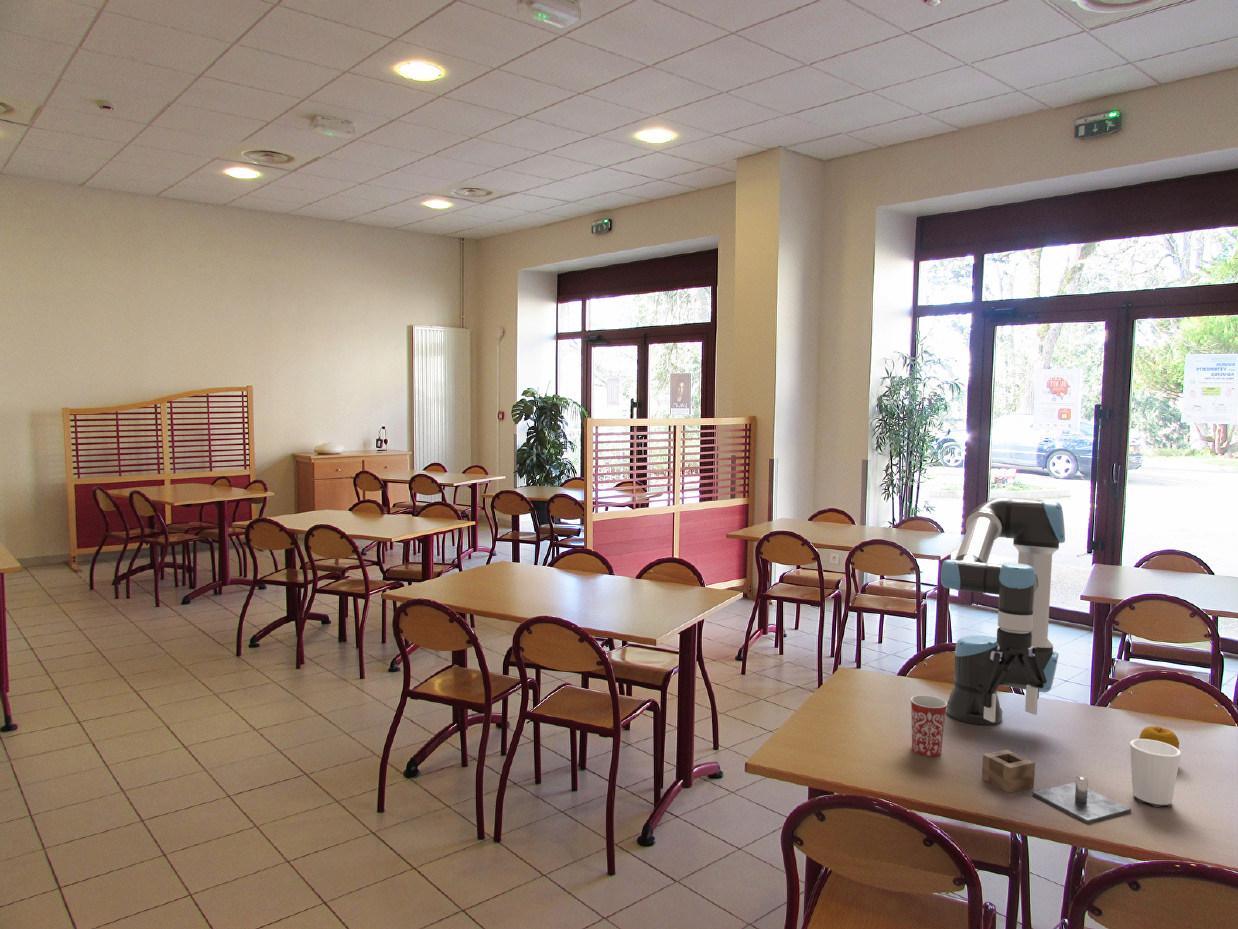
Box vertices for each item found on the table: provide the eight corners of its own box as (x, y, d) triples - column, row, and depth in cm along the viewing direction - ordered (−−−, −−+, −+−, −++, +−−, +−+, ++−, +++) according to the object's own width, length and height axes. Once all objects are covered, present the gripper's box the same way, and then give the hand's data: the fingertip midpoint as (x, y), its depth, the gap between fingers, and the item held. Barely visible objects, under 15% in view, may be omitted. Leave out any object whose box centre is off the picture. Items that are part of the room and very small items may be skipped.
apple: (1141, 764, 207) (1143, 731, 207) (1134, 752, 215) (1136, 719, 215) (1181, 770, 204) (1183, 736, 204) (1172, 757, 212) (1174, 724, 211)
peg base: (1074, 785, 195) (1075, 761, 195) (1131, 812, 182) (1132, 786, 182) (1032, 795, 190) (1033, 770, 189) (1087, 824, 177) (1088, 797, 176)
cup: (1170, 795, 191) (1173, 742, 190) (1184, 814, 182) (1187, 759, 181) (1121, 788, 194) (1124, 736, 193) (1132, 806, 185) (1136, 752, 184)
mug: (947, 760, 208) (949, 708, 208) (910, 756, 211) (912, 705, 210) (940, 741, 221) (942, 692, 220) (905, 737, 223) (907, 689, 222)
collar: (1006, 773, 201) (1007, 749, 201) (1033, 787, 194) (1035, 762, 194) (982, 778, 198) (983, 754, 198) (1009, 792, 191) (1010, 768, 190)
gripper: (1038, 621, 202) (1034, 704, 203) (962, 629, 192) (958, 717, 194) (1065, 628, 195) (1061, 715, 196) (988, 638, 185) (984, 729, 187)
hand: (1010, 716), depth 195 cm, fingers open, 13 cm apart
